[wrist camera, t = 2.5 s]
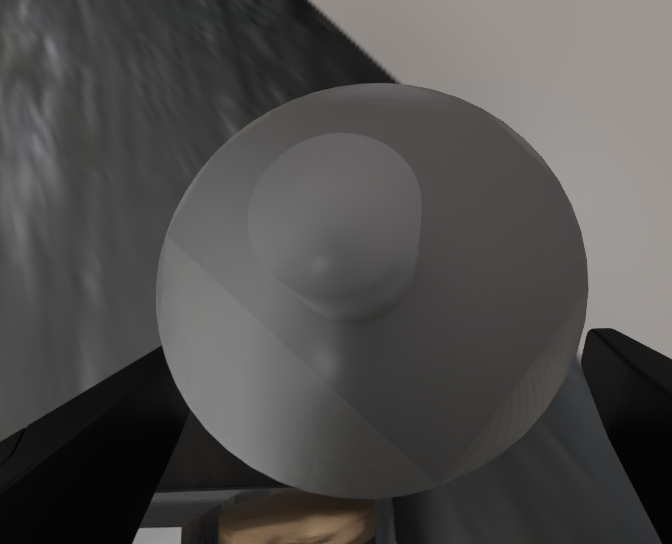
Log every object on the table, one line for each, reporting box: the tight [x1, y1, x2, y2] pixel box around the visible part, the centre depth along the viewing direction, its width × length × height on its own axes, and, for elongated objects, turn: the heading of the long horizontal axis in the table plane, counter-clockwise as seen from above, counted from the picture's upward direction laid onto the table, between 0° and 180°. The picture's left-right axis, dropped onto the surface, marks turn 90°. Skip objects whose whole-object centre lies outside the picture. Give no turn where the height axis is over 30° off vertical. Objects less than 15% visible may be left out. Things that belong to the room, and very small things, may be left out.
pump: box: [156, 83, 588, 499], centre depth 11 cm, size 6×6×14 cm
